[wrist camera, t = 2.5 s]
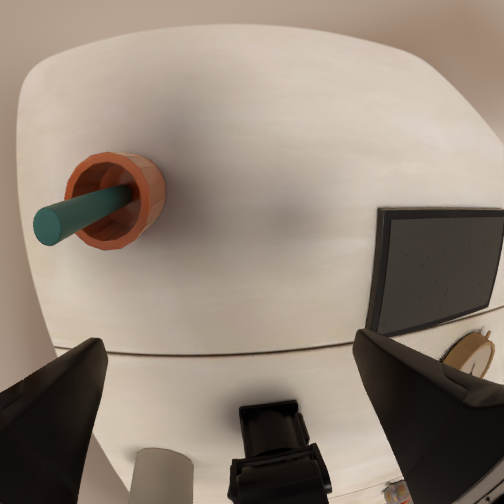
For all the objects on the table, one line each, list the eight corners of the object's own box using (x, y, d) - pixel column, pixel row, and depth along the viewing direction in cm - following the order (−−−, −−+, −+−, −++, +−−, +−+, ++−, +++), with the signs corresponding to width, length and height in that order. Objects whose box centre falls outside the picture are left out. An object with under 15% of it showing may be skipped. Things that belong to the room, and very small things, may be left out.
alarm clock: (492, 370, 30) (430, 437, 28) (472, 358, 34) (412, 420, 33) (498, 324, 26) (429, 405, 24) (474, 312, 31) (405, 384, 29)
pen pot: (100, 234, 21) (73, 253, 16) (91, 160, 19) (59, 162, 14) (170, 227, 21) (156, 245, 16) (163, 148, 19) (145, 145, 15)
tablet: (363, 337, 26) (368, 343, 25) (377, 208, 22) (384, 210, 21) (483, 304, 28) (488, 307, 27) (501, 208, 24) (507, 210, 23)
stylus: (118, 205, 20) (36, 248, 9) (116, 184, 19) (29, 210, 9) (137, 202, 20) (64, 244, 9) (135, 181, 19) (57, 204, 9)
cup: (127, 446, 29) (115, 504, 20) (183, 448, 30) (180, 511, 20) (149, 473, 32) (143, 523, 22) (199, 474, 32) (199, 527, 23)
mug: (407, 481, 46) (415, 498, 40) (384, 494, 47) (392, 511, 41) (401, 473, 43) (411, 493, 36) (375, 487, 43) (384, 507, 37)
